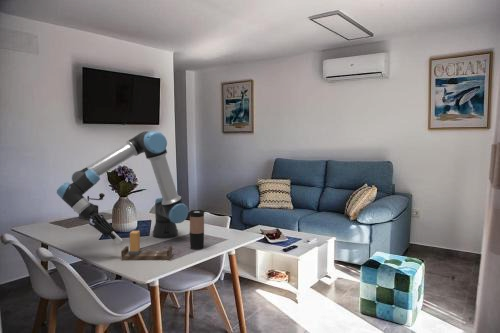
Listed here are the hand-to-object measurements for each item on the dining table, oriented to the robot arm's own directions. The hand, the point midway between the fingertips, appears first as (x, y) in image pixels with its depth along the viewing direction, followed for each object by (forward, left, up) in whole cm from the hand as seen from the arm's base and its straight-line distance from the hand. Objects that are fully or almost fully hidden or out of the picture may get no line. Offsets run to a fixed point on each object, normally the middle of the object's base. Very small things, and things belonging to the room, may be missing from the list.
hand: (120, 242), depth 179 cm
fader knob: (+6, +4, -5) cm, 9 cm away
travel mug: (+23, +32, -8) cm, 40 cm away
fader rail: (+11, +7, -8) cm, 15 cm away
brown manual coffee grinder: (-87, +55, -8) cm, 103 cm away
